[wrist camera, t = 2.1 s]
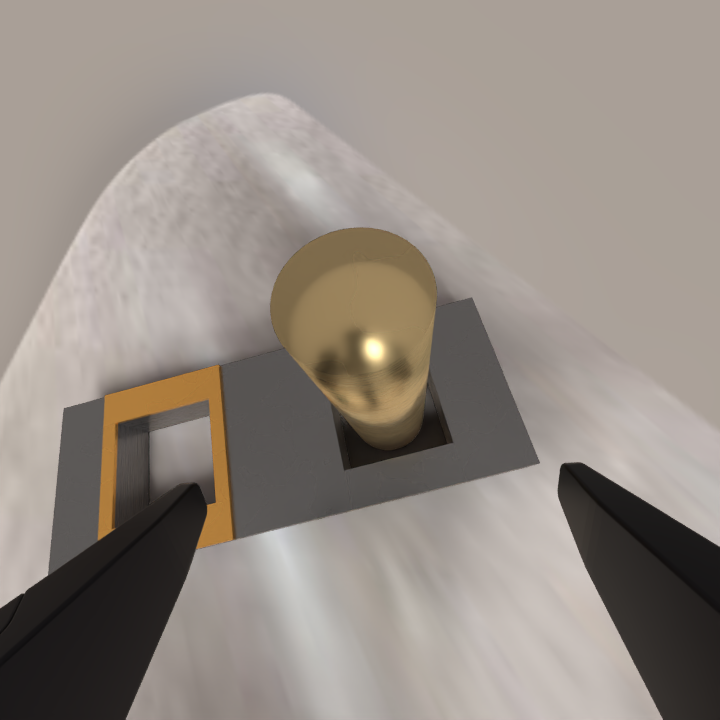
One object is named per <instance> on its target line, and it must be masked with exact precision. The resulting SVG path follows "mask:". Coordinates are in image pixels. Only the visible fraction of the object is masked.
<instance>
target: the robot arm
mask: <svg viewBox="0 0 720 720" xmlns="http://www.w3.org/2000/svg"><path fill="white" fill-rule="evenodd" d="M558 497H559V501H560V503H561V506H562V509H563V511H564V514H565V516H566V519H567V522H568V524H569V527H570V529H571V532H572V534H573V537H574V540H575V542H576V545H577V547H578V550H579V553H580V555H581V558H582V560H583V562H584V565H585V567H586V569H587V571H588V573H589V575H590V577H591V579H592V581H593V583H594V585H595V587H596V589H597V591H598V593H599V595H600V597H601V599H602V601H603V603H604V605H605V607H606V609H607V611H608V613H609V615H610V617H611V619H612V621H613V622H614V624H615V626H616V628H617V630H618V632H619V634H620V636H621V638H622V640H623V642H624V644H625V646H626V648H627V650H628V652H629V654H630V656H631V658H632V660H633V662H634V664H635V666H636V668H637V669H638V671H639V673H640V675H641V677H642V679H643V681H644V683H645V685H646V687H647V689H648V691H649V693H650V695H651V697H652V699H653V701H654V703H655V705H656V707H657V709H658V711H659V713H660V715H661V716H662V718H663V720H720V547H719V546H717V545H716V544H714V543H713V542H711V541H709V540H708V539H706V538H704V537H703V536H701V535H700V534H698V533H696V532H695V531H693V530H691V529H690V528H688V527H686V526H685V525H683V524H682V523H680V522H678V521H677V520H675V519H673V518H672V517H670V516H668V515H667V514H665V513H664V512H662V511H660V510H659V509H657V508H655V507H654V506H652V505H650V504H649V503H647V502H646V501H644V500H642V499H641V498H639V497H637V496H636V495H634V494H632V493H631V492H629V491H628V490H626V489H624V488H623V487H621V486H619V485H618V484H616V483H614V482H613V481H611V480H610V479H608V478H606V477H605V476H603V475H601V474H600V473H598V472H597V471H595V470H593V469H592V468H590V467H588V466H587V465H585V464H583V463H580V462H574V463H564V464H562V465H561V468H560V475H559V483H558ZM206 516H207V504H206V502H205V499H204V497H203V494H202V492H201V489H200V487H199V485H198V484H197V483H182V484H179V485H178V486H176V487H175V488H173V489H172V490H171V491H169V492H168V493H166V494H165V495H163V496H162V497H160V498H159V499H158V500H156V501H155V502H153V503H152V504H150V505H149V506H147V507H146V508H145V509H143V510H142V511H140V512H139V513H137V514H136V515H134V516H133V517H132V518H130V519H129V520H127V521H126V522H124V523H123V524H122V525H120V526H119V527H117V528H116V529H114V530H113V531H111V532H110V533H109V534H107V535H106V536H104V537H103V538H101V539H100V540H98V541H97V542H96V543H94V544H93V545H91V546H90V547H88V548H87V549H85V550H84V551H83V552H81V553H80V554H78V555H77V556H75V557H74V558H73V559H71V560H70V561H68V562H67V563H65V564H64V565H62V566H61V567H60V568H58V569H57V570H55V571H54V572H52V573H51V574H49V575H48V576H47V577H45V578H44V579H42V580H41V581H39V582H38V583H36V584H35V585H34V586H32V587H31V588H29V589H28V590H27V591H26V592H25V594H20V595H19V596H18V597H16V598H15V599H13V600H12V601H10V602H9V603H8V604H6V605H5V606H3V607H2V608H0V720H126V717H127V715H128V713H129V710H130V708H131V706H132V703H133V701H134V699H135V696H136V694H137V692H138V689H139V687H140V685H141V682H142V680H143V678H144V675H145V673H146V671H147V668H148V666H149V664H150V661H151V659H152V657H153V654H154V652H155V650H156V647H157V645H158V643H159V640H160V638H161V636H162V633H163V631H164V629H165V626H166V624H167V622H168V619H169V617H170V615H171V612H172V610H173V608H174V605H175V603H176V601H177V598H178V596H179V594H180V591H181V589H182V587H183V584H184V582H185V579H186V577H187V574H188V571H189V569H190V566H191V563H192V560H193V557H194V554H195V551H196V547H197V544H198V541H199V538H200V535H201V532H202V529H203V526H204V523H205V520H206Z"/></svg>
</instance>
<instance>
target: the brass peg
mask: <svg viewBox="0 0 720 720" xmlns="http://www.w3.org/2000/svg"><path fill="white" fill-rule="evenodd" d="M436 301H437V287H436V282H435V277H434V275H433V272H432V269H431V267H430V265H429V263H428V262H427V260H426V259H425V257H424V256H423V255H422V253H421V252H420V251H419V250H418V249H417V248H416V247H415V246H413V245H412V244H411V243H409V242H408V241H407V240H405V239H403V238H401V237H400V236H398V235H395V234H393V233H390V232H387V231H383V230H380V229H373V228H348V229H342V230H338V231H334V232H331V233H328V234H326V235H323V236H321V237H319V238H317V239H315V240H313V241H311V242H310V243H308V244H307V245H305V246H304V247H302V248H301V249H300V250H299V251H298V252H296V253H295V254H294V255H293V256H292V257H291V258H290V259H289V261H288V262H287V263H286V265H285V266H284V267H283V269H282V270H281V272H280V274H279V275H278V278H277V280H276V282H275V284H274V288H273V291H272V296H271V302H270V313H271V320H272V324H273V328H274V331H275V333H276V335H277V337H278V339H279V341H280V342H281V344H282V345H283V347H284V348H285V349H286V350H287V351H288V353H289V354H290V355H291V356H292V357H293V358H294V360H295V361H296V362H297V363H298V364H299V365H300V367H301V368H302V369H303V370H304V371H305V372H306V374H307V375H308V376H309V377H310V378H311V380H312V381H313V382H314V383H315V384H316V385H317V387H318V388H319V389H320V390H321V391H322V392H323V394H324V395H325V396H326V397H327V398H328V399H329V401H330V402H331V403H332V404H333V405H334V406H335V408H336V409H337V410H338V411H339V412H340V414H341V415H342V416H343V417H344V418H345V419H346V421H347V422H348V423H349V424H350V425H351V426H352V428H353V429H354V430H355V431H356V432H357V433H358V435H359V436H360V437H361V438H362V439H363V440H364V441H365V442H366V443H367V444H369V445H371V446H372V447H375V448H377V449H381V450H395V449H399V448H402V447H404V446H406V445H407V444H409V443H410V442H411V441H412V440H413V439H414V438H415V437H416V436H417V435H418V433H419V431H420V429H421V426H422V423H423V415H424V406H425V397H426V389H427V380H428V371H429V362H430V353H431V345H432V336H433V327H434V318H435V310H436Z"/></svg>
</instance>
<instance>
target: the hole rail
mask: <svg viewBox="0 0 720 720" xmlns="http://www.w3.org/2000/svg"><path fill="white" fill-rule="evenodd" d="M427 382H428V386H429V389H430V392H431V395H432V398H433V401H434V404H435V408H436V411H437V414H438V417H439V420H440V423H441V426H442V429H443V433H444V436H445V439H446V442H447V445H443V446H439V447H435V448H431V449H427V450H423V451H419V452H415V453H411V454H407V455H404V456H400V457H396V458H392V459H388V460H384V461H380V462H376V463H372V464H368V465H364V466H360V467H356V468H352V469H351V466H350V461H349V456H348V452H347V447H346V442H345V437H344V433H343V428H342V423H341V419H340V414H339V411H338V410H337V409H336V408H335V406H334V405H333V404H332V403H331V402H330V401H329V399H328V398H327V397H326V396H325V395H324V394H323V392H322V391H321V390H320V389H319V388H318V387H317V385H316V384H315V383H314V382H313V381H312V380H311V378H310V377H309V376H308V375H307V374H306V372H305V371H304V370H303V369H302V368H301V367H300V365H299V364H298V363H297V362H296V361H295V360H294V358H293V357H292V356H291V355H290V354H289V353H288V351H287V350H286V349H285V348H284V349H281V350H277V351H273V352H270V353H266V354H262V355H259V356H255V357H251V358H248V359H244V360H240V361H237V362H233V363H229V364H226V365H222V366H220V365H216V366H212V367H208V368H205V369H201V370H197V371H194V372H190V373H186V374H182V375H179V376H175V377H171V378H168V379H164V380H160V381H157V382H153V383H149V384H146V385H142V386H138V387H135V388H131V389H127V390H124V391H120V392H116V393H113V394H109V395H105V397H104V398H100V399H97V400H93V401H89V402H86V403H82V404H78V405H75V406H71V407H67V408H64V412H63V422H62V433H61V444H60V454H59V465H58V476H57V486H56V497H55V508H54V518H53V529H52V540H51V550H50V561H49V572H48V575H49V574H51V573H52V572H54V571H55V570H57V569H58V568H60V567H61V566H62V565H64V564H65V563H67V562H68V561H70V560H71V559H73V558H74V557H75V556H77V555H78V554H80V553H81V552H83V551H84V550H85V549H87V548H88V547H90V546H91V545H93V544H94V543H96V542H97V541H98V540H100V539H101V538H103V537H104V536H106V535H107V534H109V533H110V532H111V531H113V530H114V529H116V528H117V527H119V526H120V525H122V524H123V523H124V522H126V521H127V520H129V519H130V518H132V517H133V516H134V515H136V514H137V513H139V512H140V511H142V510H143V509H145V508H146V507H147V506H149V432H150V431H153V430H157V429H161V428H165V427H168V426H172V425H176V424H180V423H183V422H187V421H191V420H195V419H198V418H202V417H206V416H210V424H211V439H212V453H213V468H214V483H215V498H216V503H213V504H209V505H207V516H206V520H205V523H204V526H203V529H202V532H201V535H200V538H199V541H198V544H197V547H196V549H201V548H205V547H209V546H213V545H217V544H221V543H225V542H229V541H233V540H237V539H241V538H245V537H249V536H253V535H257V534H261V533H265V532H269V531H273V530H277V529H281V528H285V527H289V526H293V525H297V524H301V523H305V522H309V521H313V520H317V519H321V518H325V517H329V516H333V515H337V514H341V513H345V512H349V511H353V510H357V509H361V508H365V507H369V506H373V505H377V504H381V503H385V502H389V501H393V500H397V499H401V498H405V497H409V496H413V495H417V494H421V493H425V492H429V491H433V490H437V489H441V488H445V487H449V486H453V485H457V484H461V483H465V482H469V481H473V480H477V479H481V478H485V477H489V476H494V475H498V474H502V473H506V472H510V471H514V470H518V469H522V468H525V467H529V466H532V465H536V464H539V463H540V462H539V460H538V457H537V455H536V452H535V450H534V447H533V445H532V443H531V440H530V438H529V435H528V433H527V430H526V428H525V425H524V423H523V421H522V418H521V416H520V413H519V411H518V408H517V406H516V403H515V401H514V399H513V396H512V394H511V391H510V389H509V386H508V384H507V382H506V379H505V377H504V374H503V372H502V369H501V367H500V364H499V362H498V360H497V357H496V355H495V352H494V350H493V347H492V345H491V343H490V340H489V338H488V335H487V333H486V330H485V328H484V325H483V323H482V321H481V318H480V316H479V313H478V311H477V308H476V306H475V304H474V301H473V299H472V298H468V299H465V300H461V301H457V302H453V303H450V304H446V305H442V306H439V307H436V310H435V318H434V327H433V336H432V345H431V353H430V362H429V371H428V380H427Z"/></svg>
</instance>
